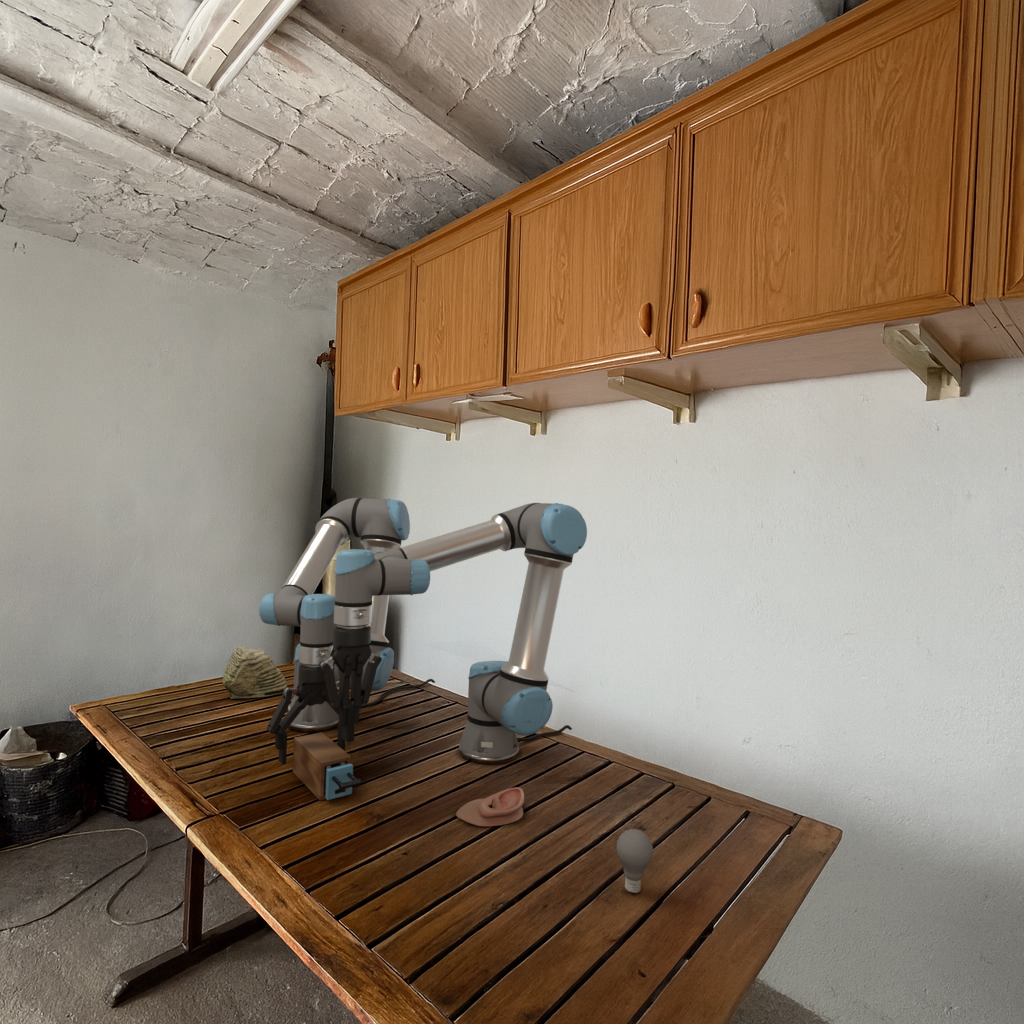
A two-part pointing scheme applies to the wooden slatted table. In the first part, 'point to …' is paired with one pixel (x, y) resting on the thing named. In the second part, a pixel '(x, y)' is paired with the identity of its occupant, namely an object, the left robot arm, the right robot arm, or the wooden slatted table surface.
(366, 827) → the wooden slatted table surface
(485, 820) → the anatomical model
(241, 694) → the fossil
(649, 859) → the light bulb
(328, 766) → the drawer
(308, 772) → the cabinet
